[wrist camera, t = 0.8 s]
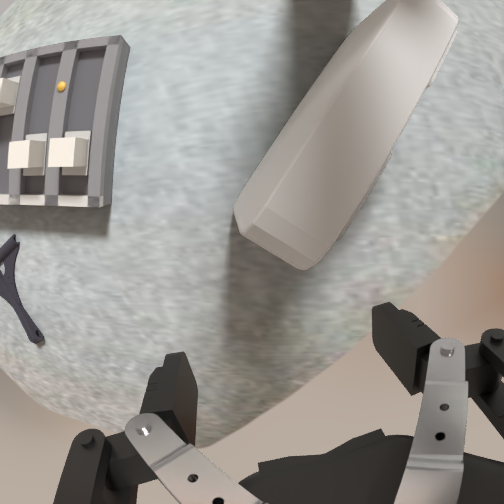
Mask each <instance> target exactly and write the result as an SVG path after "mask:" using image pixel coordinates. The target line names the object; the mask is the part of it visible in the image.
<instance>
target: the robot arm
mask: <svg viewBox="0 0 504 504" xmlns="http://www.w3.org/2000/svg"><path fill="white" fill-rule="evenodd" d="M372 337H373V343H374V346H375V348H376V350H377V352H378V353H379V354H380V356H381V357H382V358H383V359H384V361H385V362H386V363H387V365H388V366H389V367H390V368H391V370H392V371H393V372H394V373H395V375H396V376H397V377H398V379H399V380H400V381H401V383H402V384H403V385H404V387H405V388H406V389H407V390H408V392H409V393H410V394H411V396H412V395H415V394H417V393H419V392H422V393H423V399H422V404H421V409H420V413H419V418H418V423H417V427H416V431H415V435H414V437H413V436H408V435H388V436H385V435H384V433H383V431H382V429H379V430H376V431H373V432H370V433H367V434H365V435H362V436H359V437H356V438H353V439H351V440H349V441H347V442H346V443H344V444H342V445H341V446H338V447H337V448H335V449H333V450H331V451H329V452H327V453H325V454H321V455H307V456H289V457H284V458H280V459H275V460H270V461H265V462H260V463H258V467H259V472H256V473H254V474H252V475H250V476H248V477H246V478H245V479H244V480H242V481H240V482H239V483H236V482H235V481H234V480H233V479H232V478H230V477H229V476H228V475H226V474H225V473H224V472H223V471H222V470H220V469H219V468H218V467H217V466H216V465H215V464H214V463H212V462H211V461H210V460H209V459H208V458H207V457H206V456H204V455H203V454H202V453H201V452H200V451H199V450H198V449H197V448H196V447H195V435H196V417H197V401H198V388H197V383H196V380H195V377H194V375H193V372H192V370H191V367H190V365H189V362H188V359H187V357H186V354H185V353H184V352H177V353H171V354H166V356H165V360H164V364H163V367H157V368H156V369H155V370H154V371H153V373H152V374H151V375H150V377H149V381H148V386H147V388H146V392H145V395H144V399H143V403H142V406H141V410H140V414H139V415H137V416H135V417H133V418H132V419H131V420H130V421H129V422H128V423H127V424H126V427H125V431H124V432H121V433H118V434H114V435H111V436H107V437H105V435H104V434H103V433H102V432H101V431H100V430H98V429H87V430H84V431H82V432H81V433H79V434H78V435H77V436H76V437H75V438H74V440H73V442H72V445H71V448H70V450H69V453H68V456H67V460H66V463H65V466H64V469H63V472H62V475H61V478H60V482H59V485H58V489H57V492H56V495H55V499H54V503H53V504H136V499H137V490H138V484H142V483H145V482H149V481H152V480H155V479H158V480H159V481H160V482H161V483H162V484H163V486H164V487H165V488H166V489H167V490H168V491H169V493H170V494H171V495H172V496H173V497H174V498H175V499H176V500H177V502H178V503H179V504H504V462H500V461H495V460H491V459H487V458H484V457H480V456H476V455H472V454H469V453H465V452H464V444H465V434H466V423H467V407H468V398H469V397H471V398H472V399H473V400H474V402H475V403H476V404H477V405H478V407H479V408H480V409H481V410H482V411H483V413H484V414H485V415H486V417H487V418H488V419H489V421H490V422H491V423H492V424H493V426H494V427H495V428H496V430H497V431H498V432H499V433H500V435H501V436H502V437H503V439H504V383H503V382H502V381H501V379H502V376H503V377H504V330H502V329H489V330H487V331H485V332H484V333H483V334H482V336H481V341H480V343H477V344H472V345H467V346H464V345H463V343H462V342H460V341H459V340H457V339H453V338H440V337H439V336H438V335H437V334H436V333H435V332H434V331H432V330H431V329H430V328H429V327H428V326H427V325H424V323H423V322H422V321H421V320H419V318H417V317H416V316H415V315H414V314H413V313H411V312H408V311H406V310H403V309H402V310H398V309H397V308H396V307H395V306H394V305H393V304H392V303H390V302H387V303H384V304H380V305H377V306H374V307H373V308H372Z"/></svg>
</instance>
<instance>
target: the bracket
mask: <svg viewBox="0 0 504 504" xmlns="http://www.w3.org/2000/svg"><path fill="white" fill-rule="evenodd" d="M15 237H16V235H15V234H14V235H13V236H12V237H11V238H10V239H9V240H8V241H7V242H6V243H5V244H4V245H3V246H2V247H1V248H0V263H1V262H2V261H3V262H4V266H5V274H4V276H3V274H2V272H1V271H0V296H2V297H3V298H4V299H5V300H6V301H7V302H8V303H9V304H10V305H11V306H12V307H13V308H14V310H15V312H16V314H17V315H18V317H19V319H20V321H21V323H22V325H23V327H24V329H25V331H26V333H27V336H28V338H29V340H30V341H31V342H33V343H35V344H37V343H39V342H41V341H42V340H43V339H44V336H43V334H42V333H41V332H40V330H39V329H38V327H37V326H36V325H35V323H34V322H33V321H32V319H31V318H30V316H29V315H28V313H27V312H26V310H25V309H24V307H23V306H22V304H21V301H20V298H19V296H18V293H17V289H16V285H15V279H14V268H15V261H16V256H17V253H18V250H19V246H18V245H19V244H20V242H18V243H17V242H15V240H14V238H15ZM37 332H38V333H39V335H38V333H37Z"/></svg>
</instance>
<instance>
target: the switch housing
mask: <svg viewBox="0 0 504 504" xmlns="http://www.w3.org/2000/svg"><path fill="white" fill-rule="evenodd" d="M129 51H130V46H129V45H128V44H127V42H126V41H125V40H124V38H123V37H122V36H121V35H119V36H108V37H99V38H90V39H83V40H76V41H70V42H64V43H59V44H53V45H48V46H44V47H39V48H35V49H30V50H26V51H22V52H18V53H15V54H11V55H7V56H4V57H1V58H0V78H6V79H8V78H12V77H17V76H21V80H20V85H19V90H18V96H17V102H16V108H15V114H12V115H6V116H0V204H3V205H46V206H75V207H98V208H100V207H102V206H105V205H108V204H111V203H112V182H113V167H114V155H115V144H116V134H117V125H118V117H119V110H120V102H121V96H122V89H123V83H124V77H125V72H126V66H127V61H128V56H129ZM70 131H92V140H91V151H90V163H89V175H62V167H48V157H49V145H50V138H65V132H70ZM41 133H48V143H47V155H46V171H45V175H39V176H23V168H12V169H7V167H8V151H9V142H13V141H23V140H26V135H30V134H41Z"/></svg>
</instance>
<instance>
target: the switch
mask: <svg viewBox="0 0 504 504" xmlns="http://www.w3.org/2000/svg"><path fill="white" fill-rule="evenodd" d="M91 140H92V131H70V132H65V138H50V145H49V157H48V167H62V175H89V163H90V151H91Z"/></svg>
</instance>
